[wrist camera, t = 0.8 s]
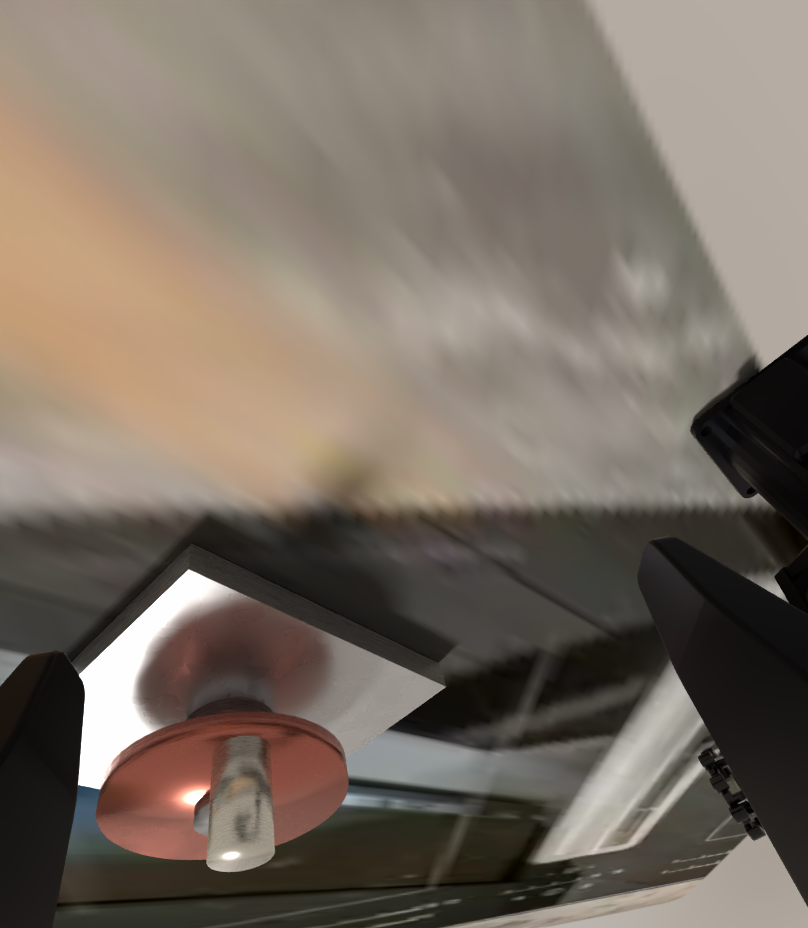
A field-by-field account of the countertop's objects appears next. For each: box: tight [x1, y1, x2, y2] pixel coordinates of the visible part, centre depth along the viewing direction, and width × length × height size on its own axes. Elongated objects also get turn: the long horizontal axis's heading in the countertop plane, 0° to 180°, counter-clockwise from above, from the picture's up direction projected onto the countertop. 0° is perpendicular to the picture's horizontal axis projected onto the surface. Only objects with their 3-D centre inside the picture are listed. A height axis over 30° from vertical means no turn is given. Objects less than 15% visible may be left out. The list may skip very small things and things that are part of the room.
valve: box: [698, 748, 766, 841], centre depth 45 cm, size 7×7×12 cm
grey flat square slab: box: [71, 543, 446, 789], centre depth 30 cm, size 16×16×4 cm
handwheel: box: [96, 712, 349, 872], centre depth 26 cm, size 11×11×5 cm
